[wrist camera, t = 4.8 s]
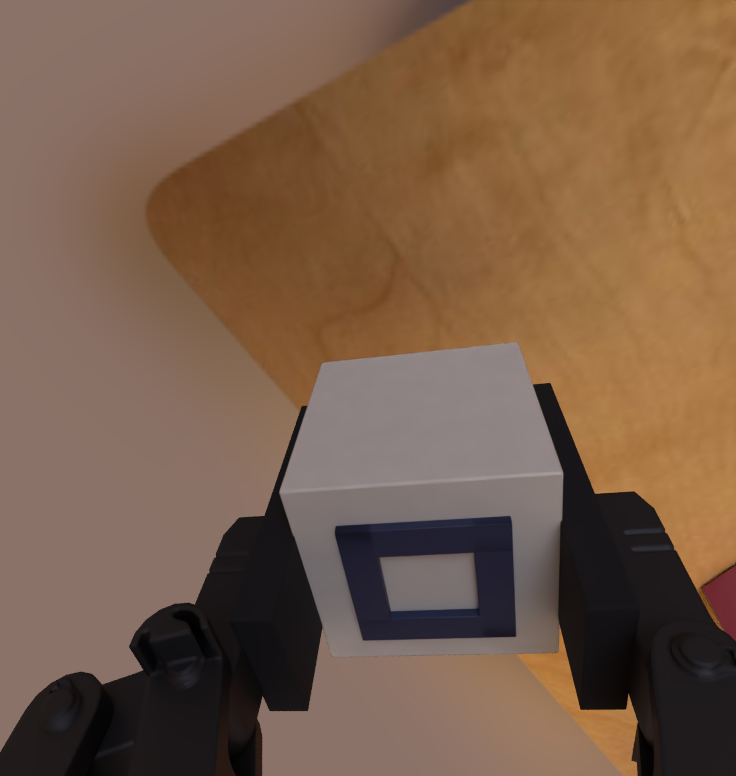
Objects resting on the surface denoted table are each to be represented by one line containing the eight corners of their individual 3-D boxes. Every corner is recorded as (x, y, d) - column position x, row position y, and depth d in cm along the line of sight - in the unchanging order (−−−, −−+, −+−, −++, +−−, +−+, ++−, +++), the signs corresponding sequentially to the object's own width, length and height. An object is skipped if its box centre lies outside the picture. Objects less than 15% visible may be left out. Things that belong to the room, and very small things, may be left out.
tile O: (321, 361, 14) (275, 499, 10) (517, 340, 13) (566, 480, 9) (354, 504, 17) (330, 666, 12) (522, 494, 16) (561, 662, 11)
